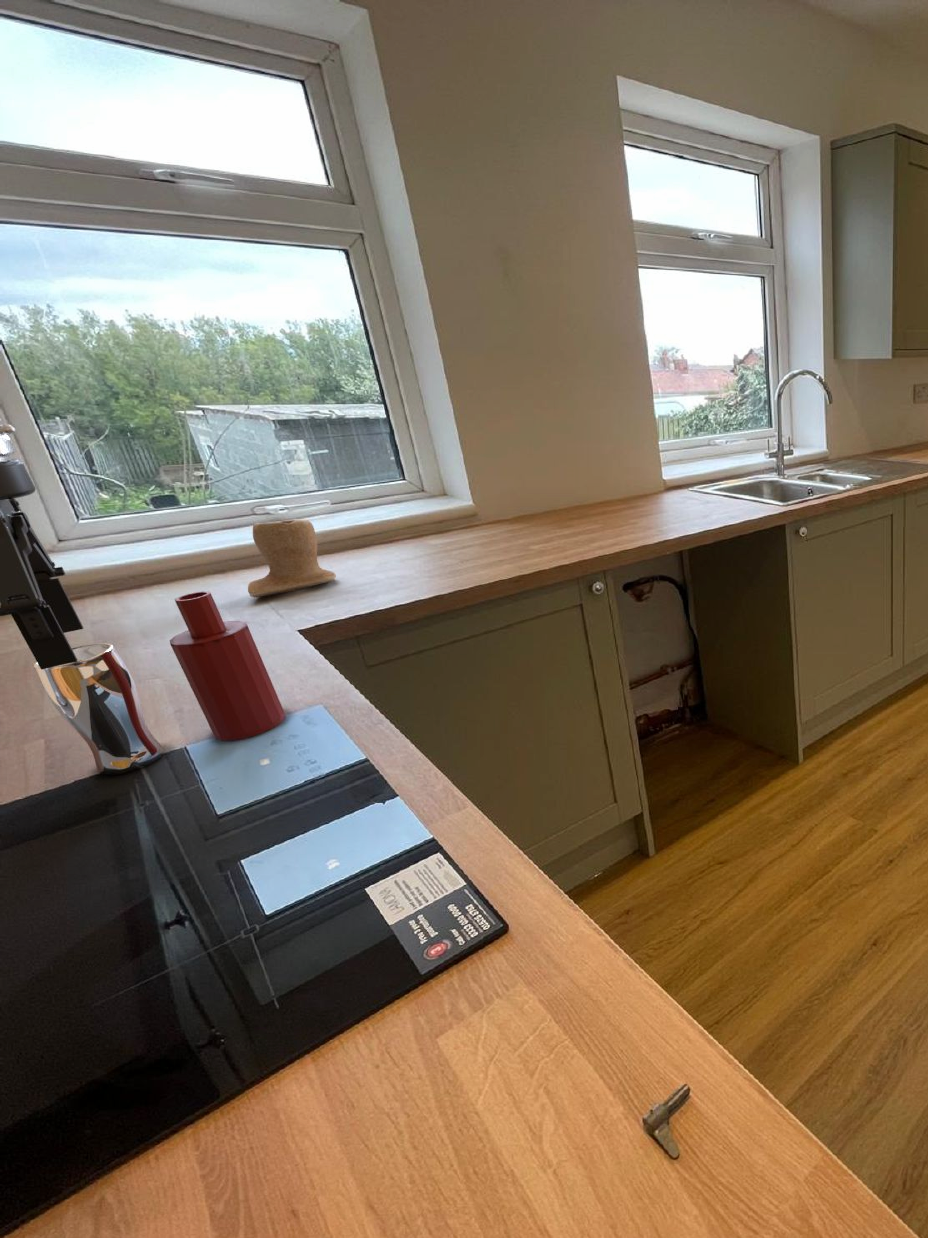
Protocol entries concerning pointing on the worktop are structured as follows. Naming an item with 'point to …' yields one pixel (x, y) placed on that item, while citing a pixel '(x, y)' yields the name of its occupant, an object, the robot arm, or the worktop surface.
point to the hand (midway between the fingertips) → (64, 647)
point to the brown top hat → (287, 557)
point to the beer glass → (102, 708)
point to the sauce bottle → (225, 671)
